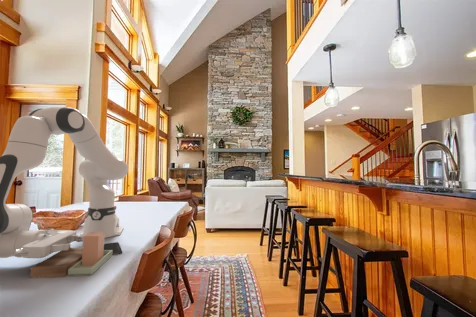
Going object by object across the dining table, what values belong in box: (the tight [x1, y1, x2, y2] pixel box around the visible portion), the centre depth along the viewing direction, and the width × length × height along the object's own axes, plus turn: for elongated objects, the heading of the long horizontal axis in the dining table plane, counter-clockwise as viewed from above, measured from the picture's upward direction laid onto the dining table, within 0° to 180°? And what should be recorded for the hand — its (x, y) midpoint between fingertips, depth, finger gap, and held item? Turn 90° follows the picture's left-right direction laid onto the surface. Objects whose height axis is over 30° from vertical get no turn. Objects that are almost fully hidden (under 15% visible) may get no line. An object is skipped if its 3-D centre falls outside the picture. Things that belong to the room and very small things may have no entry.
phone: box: [104, 241, 123, 256], centre depth 100 cm, size 8×1×15 cm
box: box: [67, 250, 113, 277], centre depth 85 cm, size 18×7×2 cm, turn 8°
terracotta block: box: [82, 232, 105, 266], centre depth 85 cm, size 5×5×10 cm
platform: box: [29, 247, 83, 279], centre depth 84 cm, size 19×10×3 cm, turn 8°
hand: (76, 242), depth 85 cm, fingers open, 8 cm apart
